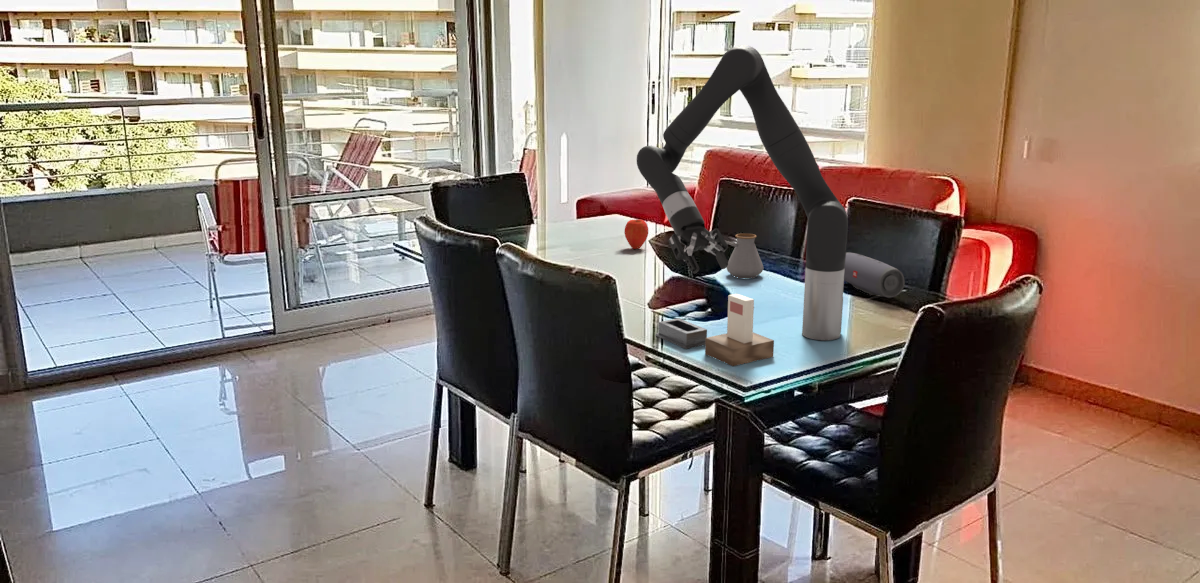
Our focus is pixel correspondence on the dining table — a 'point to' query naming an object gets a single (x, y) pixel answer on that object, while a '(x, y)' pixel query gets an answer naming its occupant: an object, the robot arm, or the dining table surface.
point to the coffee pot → (744, 257)
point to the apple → (636, 233)
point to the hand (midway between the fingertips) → (711, 269)
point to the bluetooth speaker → (873, 276)
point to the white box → (740, 318)
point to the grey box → (682, 333)
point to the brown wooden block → (739, 349)
